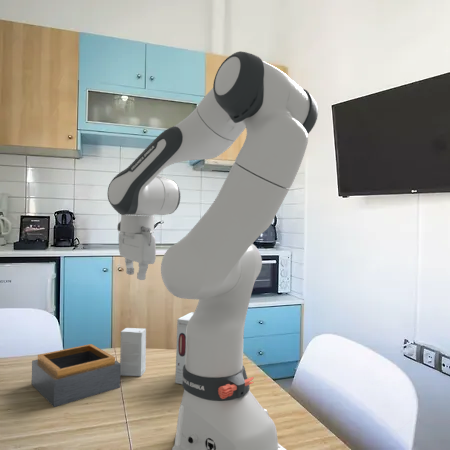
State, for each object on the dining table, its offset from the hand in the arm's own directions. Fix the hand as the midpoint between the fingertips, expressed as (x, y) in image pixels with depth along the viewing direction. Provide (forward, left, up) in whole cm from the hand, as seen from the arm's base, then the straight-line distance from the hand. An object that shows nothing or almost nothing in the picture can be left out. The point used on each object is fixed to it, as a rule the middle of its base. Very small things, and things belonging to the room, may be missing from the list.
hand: (135, 276), depth 103 cm
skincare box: (+1, -1, -27) cm, 27 cm away
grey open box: (+5, +14, -27) cm, 31 cm away
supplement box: (-14, -12, -27) cm, 32 cm away
